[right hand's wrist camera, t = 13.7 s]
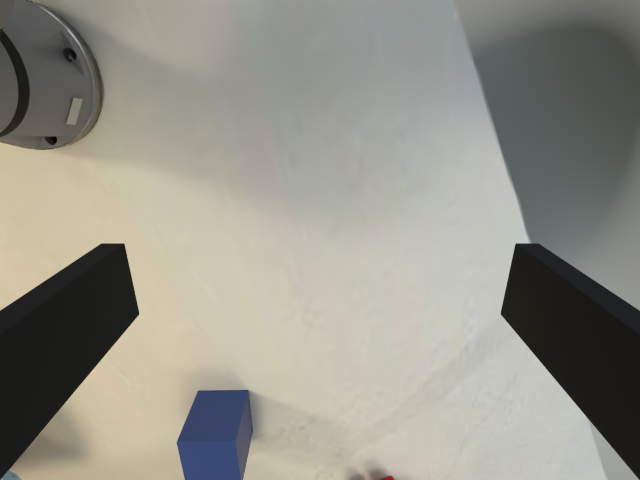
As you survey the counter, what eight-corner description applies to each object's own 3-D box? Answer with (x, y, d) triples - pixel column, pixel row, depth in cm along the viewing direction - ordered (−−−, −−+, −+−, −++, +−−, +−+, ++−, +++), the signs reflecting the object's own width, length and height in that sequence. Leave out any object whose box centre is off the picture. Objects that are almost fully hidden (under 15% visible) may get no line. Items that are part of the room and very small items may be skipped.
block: (252, 430, 60) (241, 485, 52) (205, 431, 60) (186, 486, 52) (248, 390, 57) (235, 441, 48) (198, 390, 57) (176, 442, 49)
